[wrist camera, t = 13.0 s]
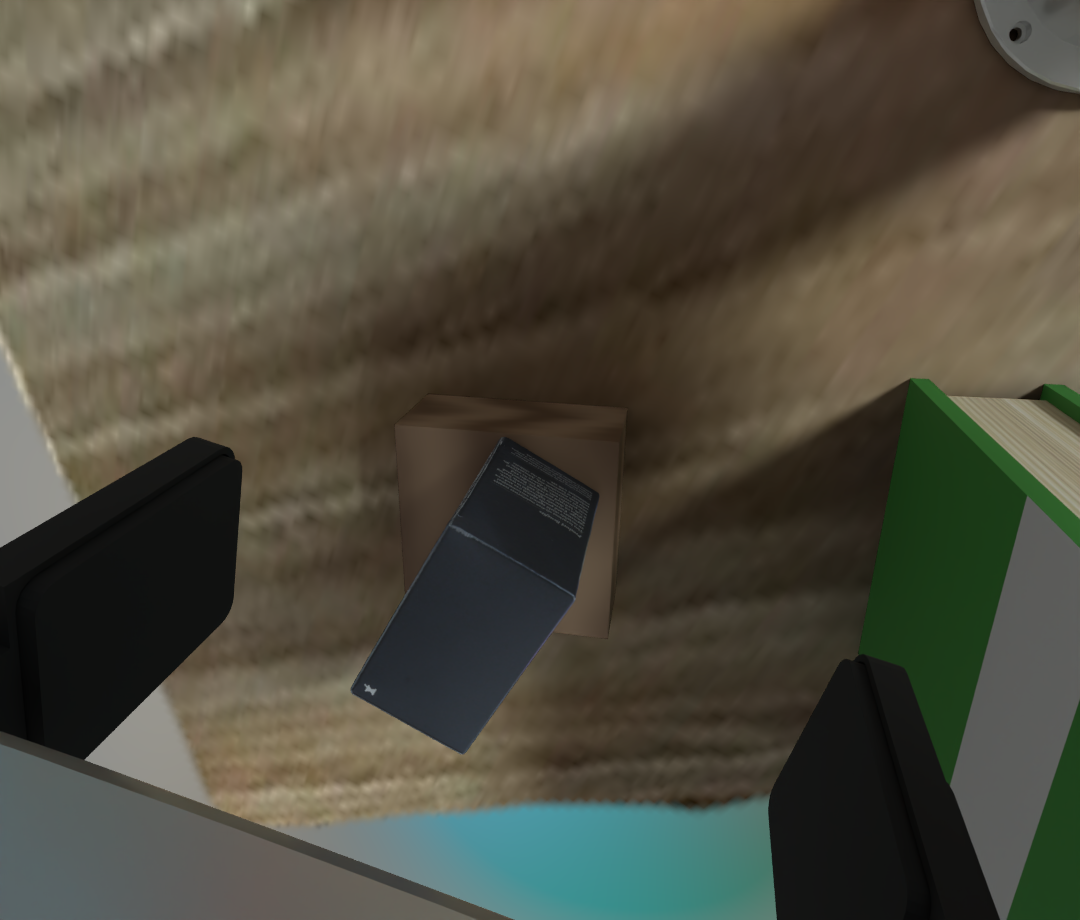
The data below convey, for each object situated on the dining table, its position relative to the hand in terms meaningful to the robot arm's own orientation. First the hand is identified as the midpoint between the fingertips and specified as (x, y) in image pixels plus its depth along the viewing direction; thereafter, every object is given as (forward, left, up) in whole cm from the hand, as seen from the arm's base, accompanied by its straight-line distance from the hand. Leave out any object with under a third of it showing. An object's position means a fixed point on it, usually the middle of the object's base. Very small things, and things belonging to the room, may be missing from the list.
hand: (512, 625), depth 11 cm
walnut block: (+3, +14, -33) cm, 36 cm away
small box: (+3, +14, -27) cm, 30 cm away
